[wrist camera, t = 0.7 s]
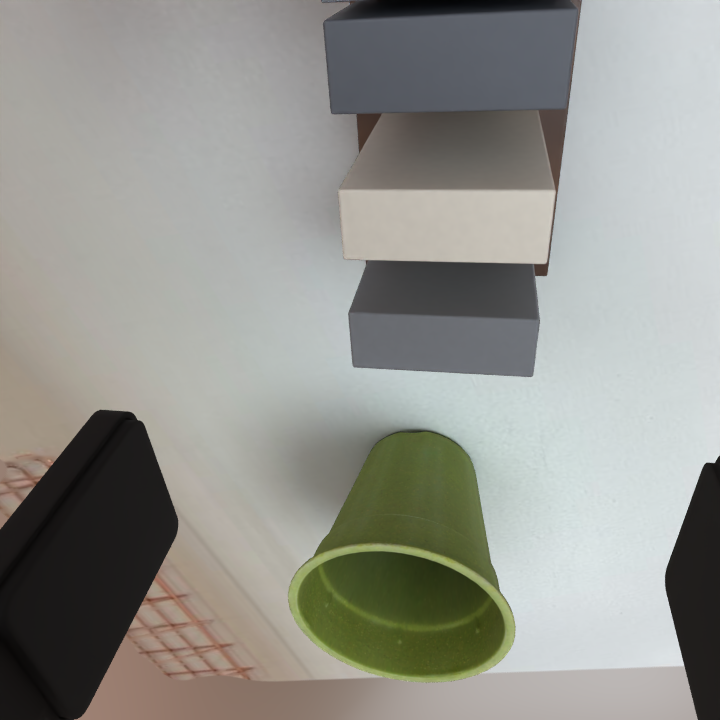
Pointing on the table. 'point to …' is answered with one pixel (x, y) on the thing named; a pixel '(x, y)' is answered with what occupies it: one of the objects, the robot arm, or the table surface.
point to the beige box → (450, 189)
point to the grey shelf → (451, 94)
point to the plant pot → (407, 570)
